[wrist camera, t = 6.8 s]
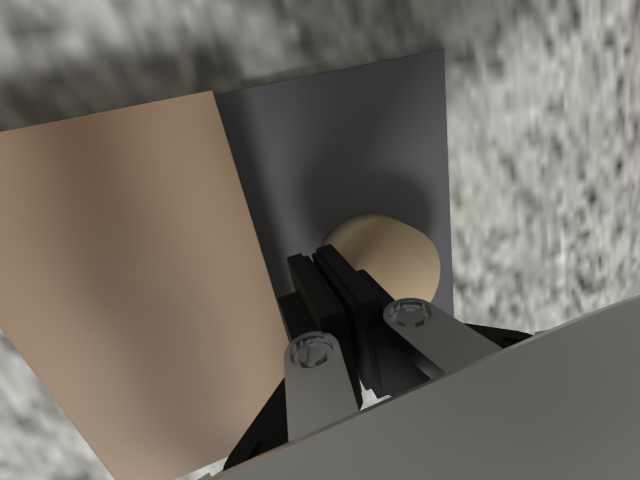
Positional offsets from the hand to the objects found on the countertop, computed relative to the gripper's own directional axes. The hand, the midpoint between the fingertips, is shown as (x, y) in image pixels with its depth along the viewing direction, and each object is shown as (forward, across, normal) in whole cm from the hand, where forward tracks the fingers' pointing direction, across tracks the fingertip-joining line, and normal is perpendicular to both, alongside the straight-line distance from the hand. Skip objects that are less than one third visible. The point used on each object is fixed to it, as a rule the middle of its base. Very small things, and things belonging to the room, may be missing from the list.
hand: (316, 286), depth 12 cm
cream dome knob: (+2, -3, +1) cm, 4 cm away
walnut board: (+3, +6, 0) cm, 6 cm away
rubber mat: (+3, -3, 0) cm, 4 cm away
